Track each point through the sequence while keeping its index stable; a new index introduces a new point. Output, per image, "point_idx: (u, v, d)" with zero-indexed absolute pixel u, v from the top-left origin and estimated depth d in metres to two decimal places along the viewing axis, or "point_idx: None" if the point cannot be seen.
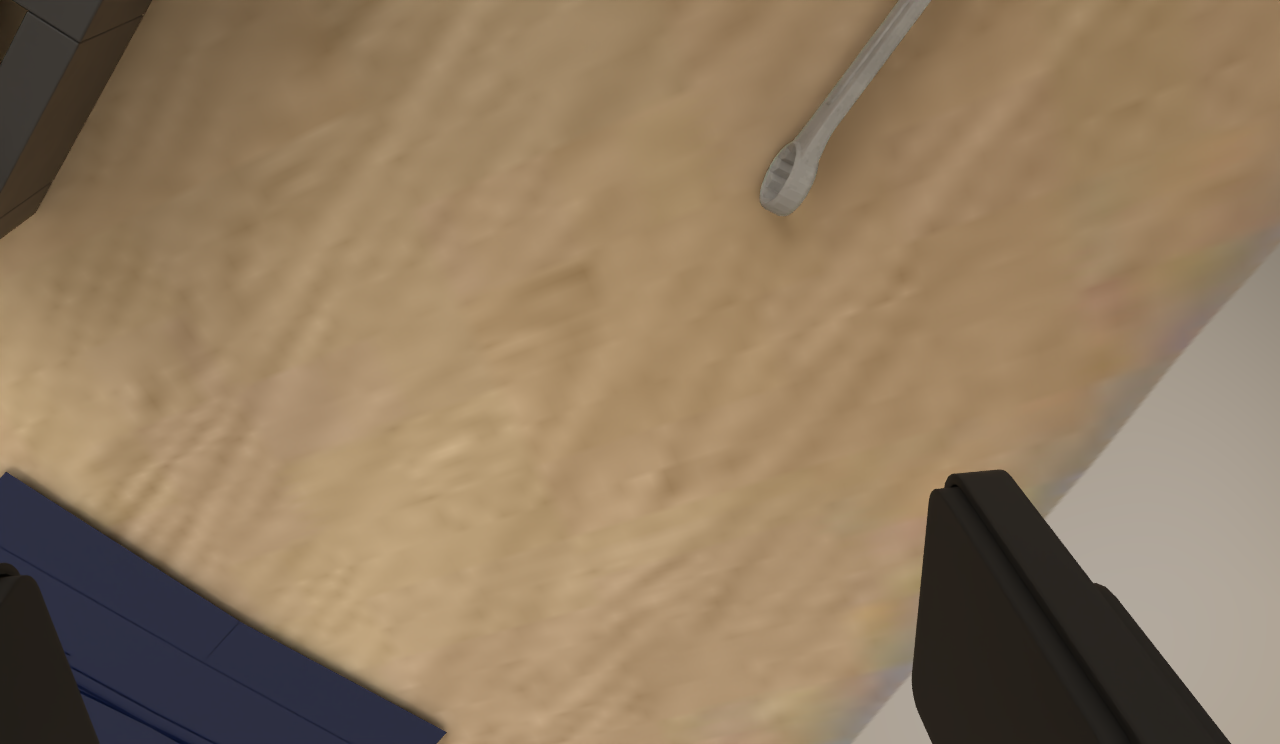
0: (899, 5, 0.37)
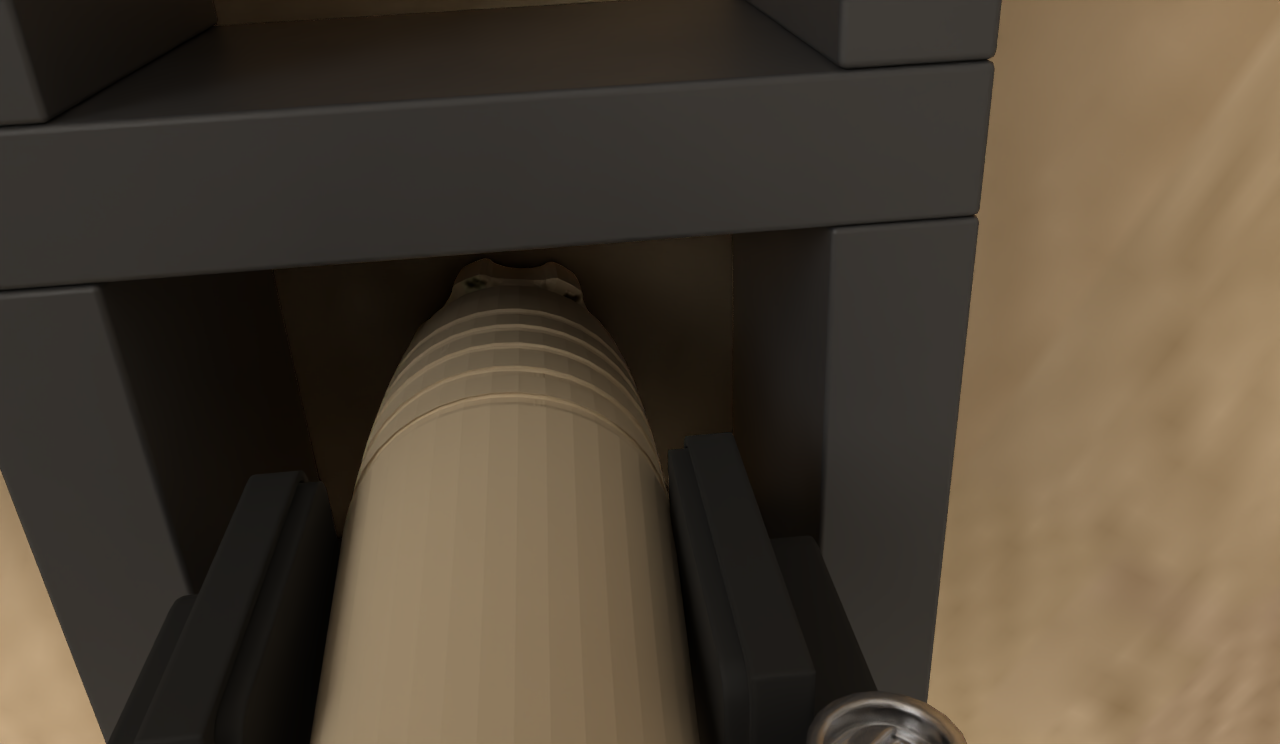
0: None
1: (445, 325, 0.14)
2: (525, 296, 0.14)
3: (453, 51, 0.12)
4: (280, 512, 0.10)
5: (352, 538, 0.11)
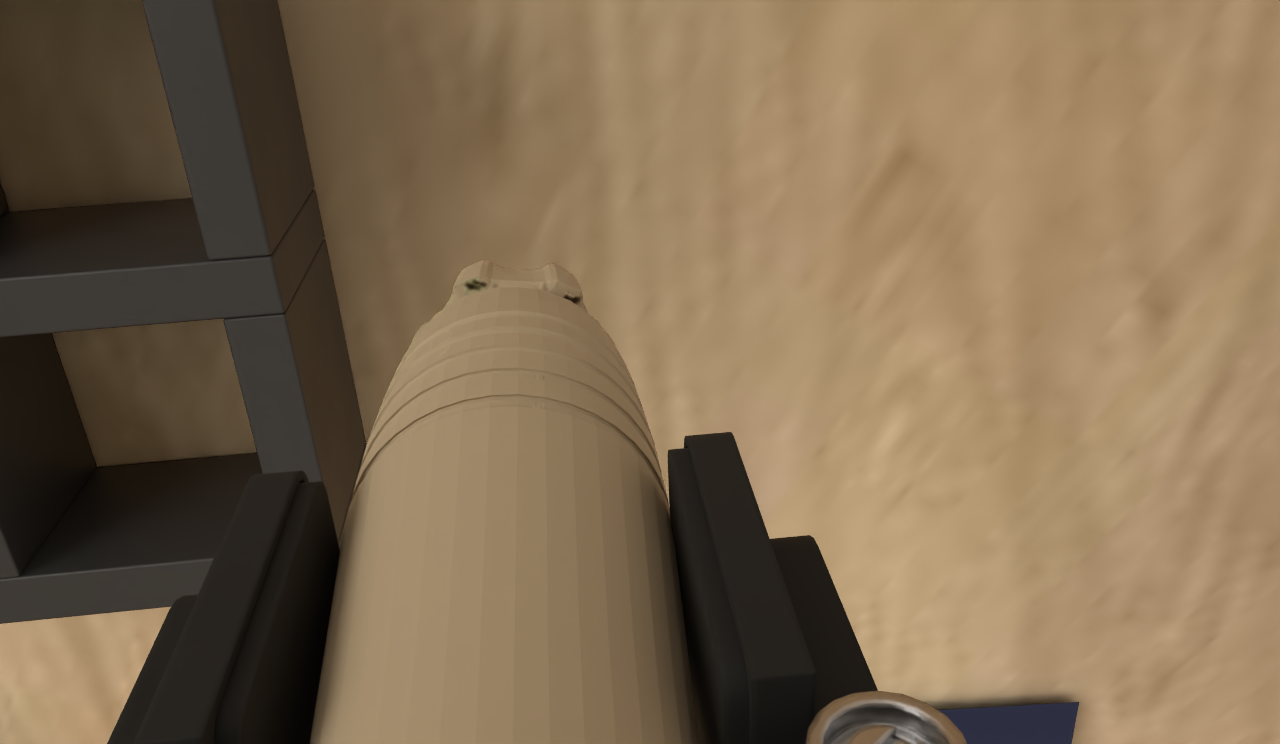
0: None
1: (445, 327, 0.14)
2: (526, 298, 0.14)
3: (87, 240, 0.28)
4: (280, 512, 0.10)
5: (352, 540, 0.11)
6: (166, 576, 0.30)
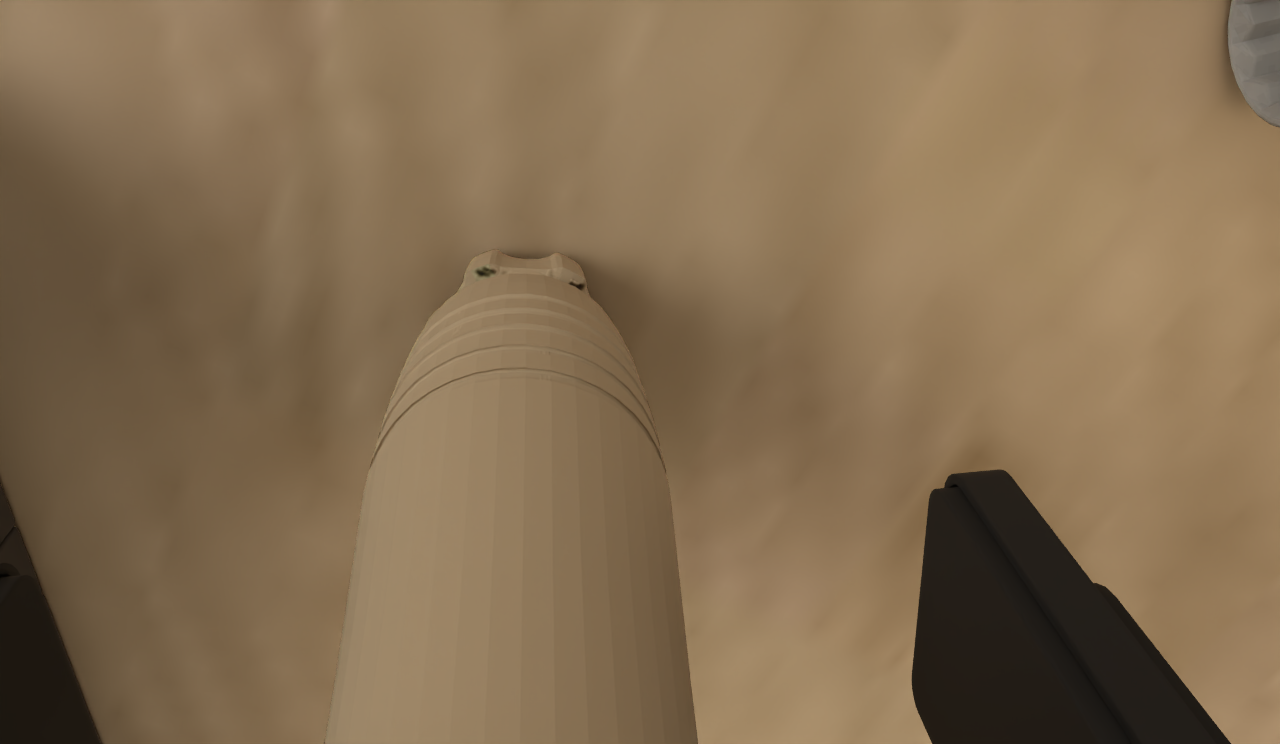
0: None
1: (457, 309, 0.15)
2: (532, 284, 0.15)
3: None
4: None
5: (372, 499, 0.12)
6: None
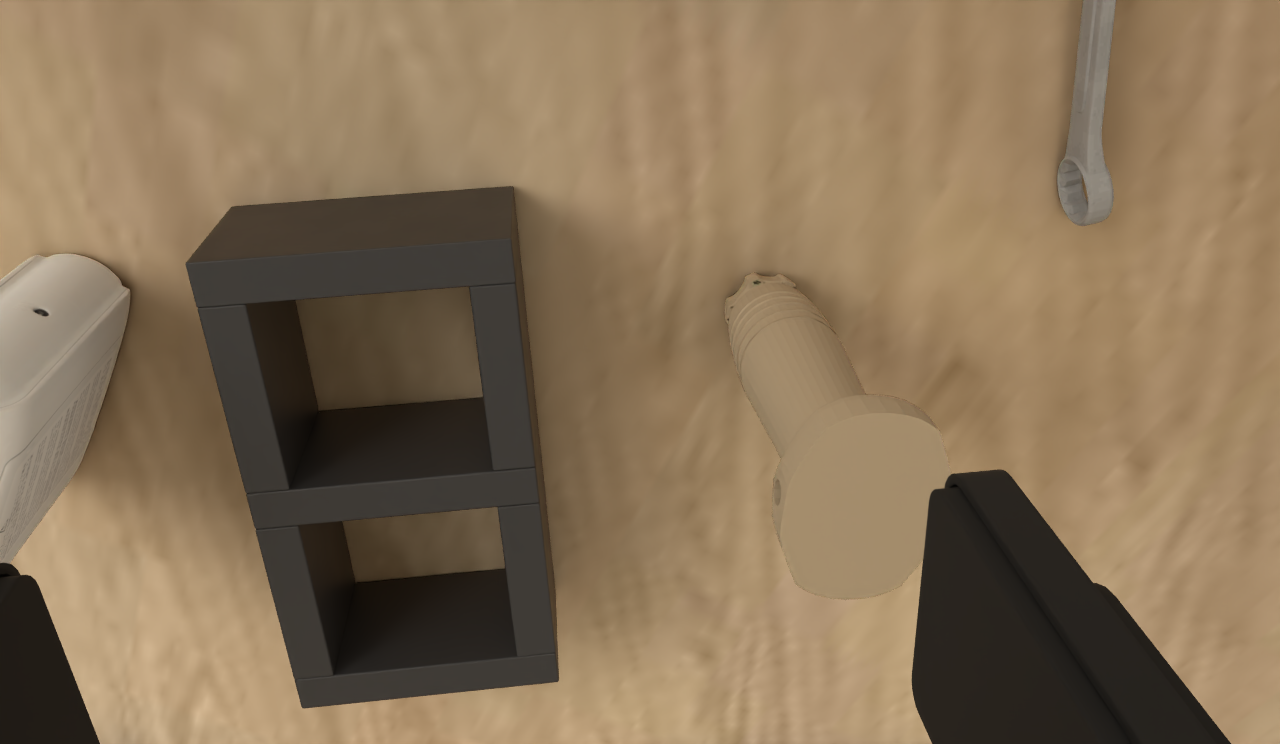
0: None
1: (758, 297, 0.39)
2: (783, 287, 0.40)
3: (395, 446, 0.40)
4: None
5: (758, 357, 0.36)
6: (434, 674, 0.43)
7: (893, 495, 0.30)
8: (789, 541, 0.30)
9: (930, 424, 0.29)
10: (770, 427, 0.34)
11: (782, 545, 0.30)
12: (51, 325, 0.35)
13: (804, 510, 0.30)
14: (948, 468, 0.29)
